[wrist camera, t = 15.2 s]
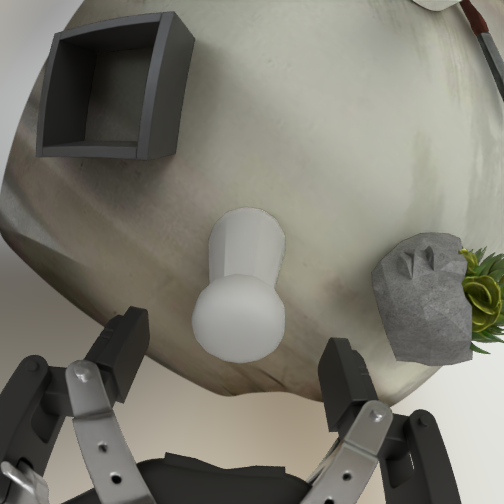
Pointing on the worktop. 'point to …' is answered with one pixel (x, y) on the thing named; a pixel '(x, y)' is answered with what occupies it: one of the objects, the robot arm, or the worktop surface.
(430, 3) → the can
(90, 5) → the worktop surface
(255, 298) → the salt shaker
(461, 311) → the potted plant
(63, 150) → the holder
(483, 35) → the knife
